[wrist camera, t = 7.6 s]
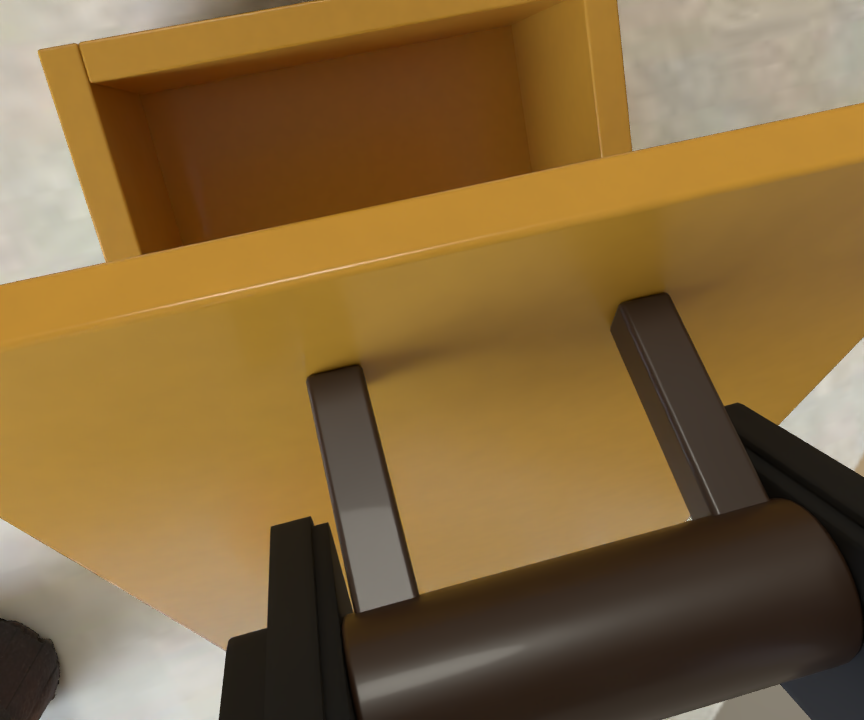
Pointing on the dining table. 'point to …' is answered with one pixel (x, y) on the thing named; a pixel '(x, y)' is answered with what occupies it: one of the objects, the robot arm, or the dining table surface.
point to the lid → (473, 425)
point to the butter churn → (25, 672)
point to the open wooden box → (330, 110)
